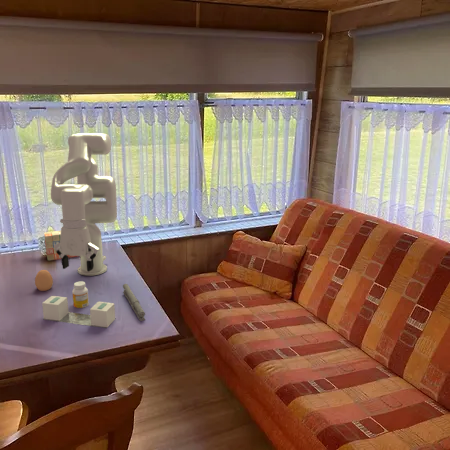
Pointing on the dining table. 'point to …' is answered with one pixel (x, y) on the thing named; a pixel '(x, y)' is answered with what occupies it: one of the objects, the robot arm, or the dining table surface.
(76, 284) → the supplement bottle
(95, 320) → the module
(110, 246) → the dining table surface
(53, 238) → the stack of blocks
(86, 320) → the rail
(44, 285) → the egg
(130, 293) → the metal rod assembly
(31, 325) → the dining table surface
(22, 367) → the dining table surface
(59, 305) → the block
